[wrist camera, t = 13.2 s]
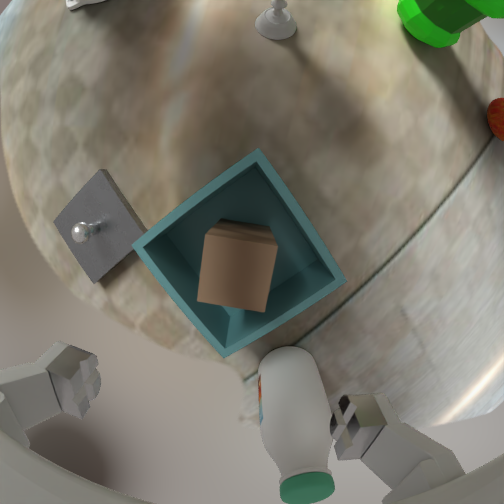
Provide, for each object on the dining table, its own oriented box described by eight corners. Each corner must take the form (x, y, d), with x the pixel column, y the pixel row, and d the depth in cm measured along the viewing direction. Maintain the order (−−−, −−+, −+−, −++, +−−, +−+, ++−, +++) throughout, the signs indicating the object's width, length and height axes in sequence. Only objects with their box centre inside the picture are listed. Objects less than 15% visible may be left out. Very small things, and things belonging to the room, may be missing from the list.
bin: (159, 230, 30) (131, 245, 23) (257, 157, 29) (258, 147, 21) (229, 321, 33) (223, 358, 25) (325, 258, 31) (347, 281, 23)
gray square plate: (59, 220, 30) (33, 226, 25) (106, 169, 29) (80, 167, 23) (99, 280, 32) (76, 296, 26) (151, 235, 31) (131, 245, 25)
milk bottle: (262, 341, 34) (269, 479, 14) (320, 345, 34) (368, 471, 14) (254, 386, 36) (255, 512, 16) (308, 389, 36) (336, 507, 16)
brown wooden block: (214, 265, 30) (196, 301, 21) (221, 218, 29) (205, 234, 19) (260, 272, 31) (264, 312, 21) (269, 226, 29) (277, 246, 20)
